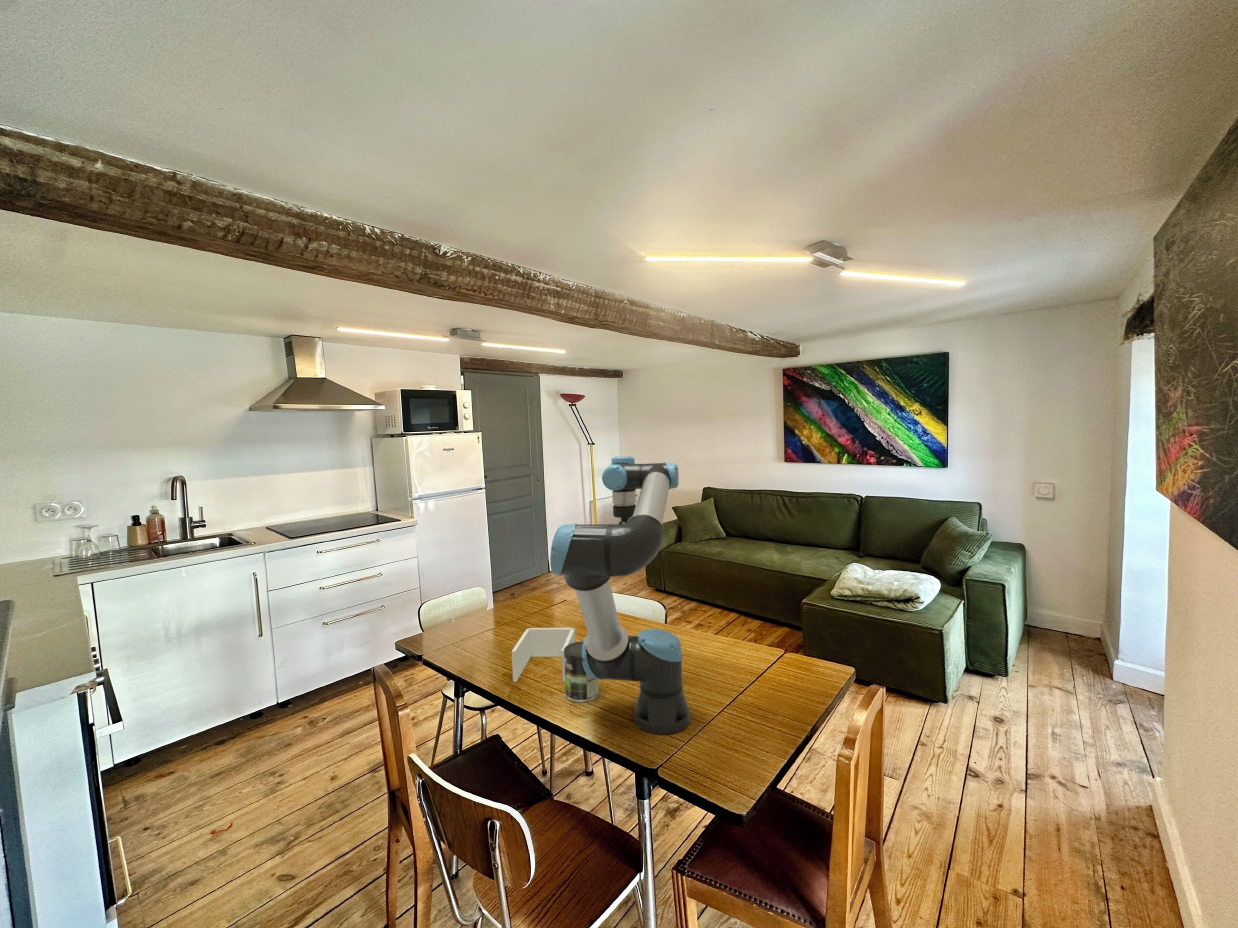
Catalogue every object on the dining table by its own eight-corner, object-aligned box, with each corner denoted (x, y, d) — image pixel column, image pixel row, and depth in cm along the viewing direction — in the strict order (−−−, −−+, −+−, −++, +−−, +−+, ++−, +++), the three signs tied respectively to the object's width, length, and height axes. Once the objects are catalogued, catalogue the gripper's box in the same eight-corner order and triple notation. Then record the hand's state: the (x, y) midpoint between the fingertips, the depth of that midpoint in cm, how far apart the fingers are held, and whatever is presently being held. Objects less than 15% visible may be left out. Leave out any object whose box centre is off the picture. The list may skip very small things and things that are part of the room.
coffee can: (570, 705, 142) (568, 658, 141) (562, 689, 151) (560, 644, 150) (604, 697, 145) (602, 651, 144) (593, 682, 155) (592, 638, 154)
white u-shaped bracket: (566, 681, 156) (565, 651, 155) (513, 681, 157) (511, 651, 157) (575, 655, 175) (574, 627, 174) (528, 655, 176) (527, 628, 176)
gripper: (634, 509, 144) (637, 580, 145) (637, 499, 169) (639, 559, 170) (609, 510, 144) (611, 580, 145) (616, 499, 169) (618, 559, 170)
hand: (626, 569), depth 157 cm, fingers open, 13 cm apart
